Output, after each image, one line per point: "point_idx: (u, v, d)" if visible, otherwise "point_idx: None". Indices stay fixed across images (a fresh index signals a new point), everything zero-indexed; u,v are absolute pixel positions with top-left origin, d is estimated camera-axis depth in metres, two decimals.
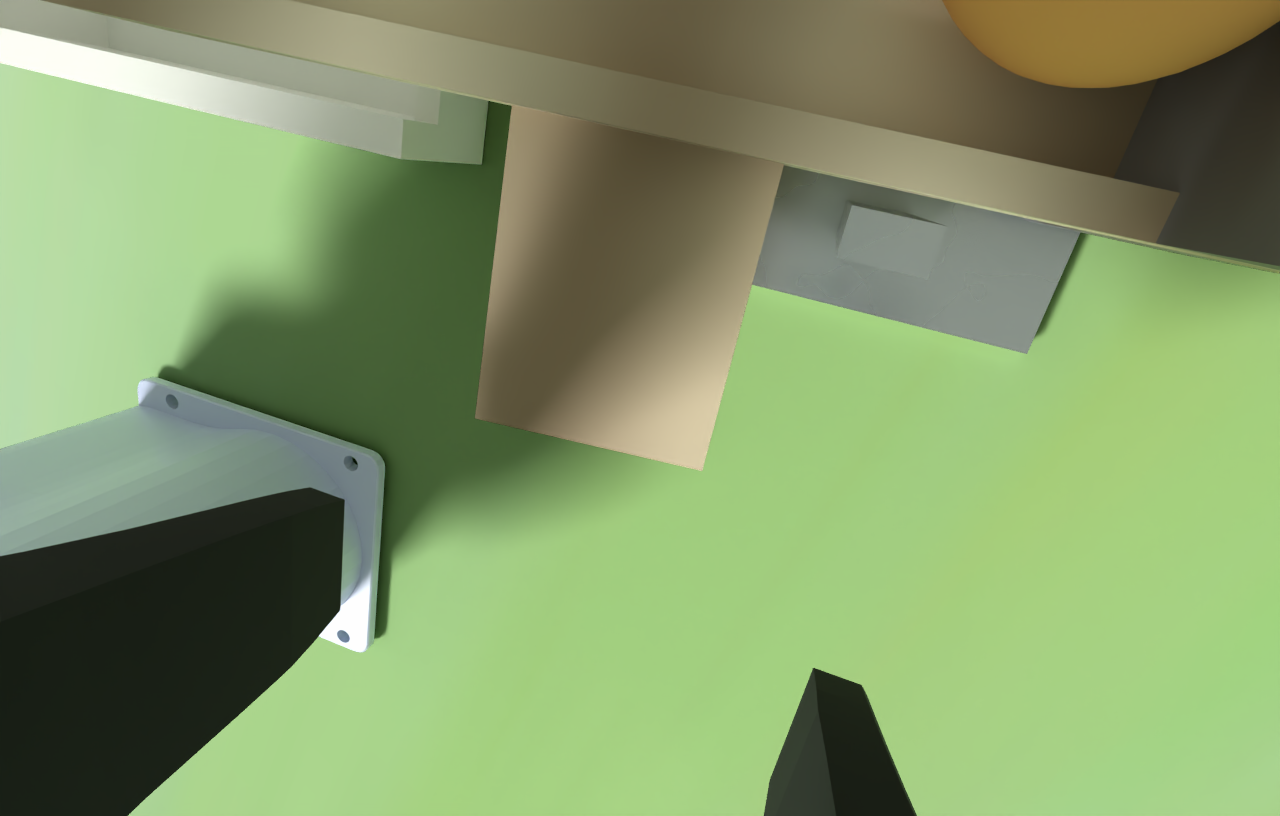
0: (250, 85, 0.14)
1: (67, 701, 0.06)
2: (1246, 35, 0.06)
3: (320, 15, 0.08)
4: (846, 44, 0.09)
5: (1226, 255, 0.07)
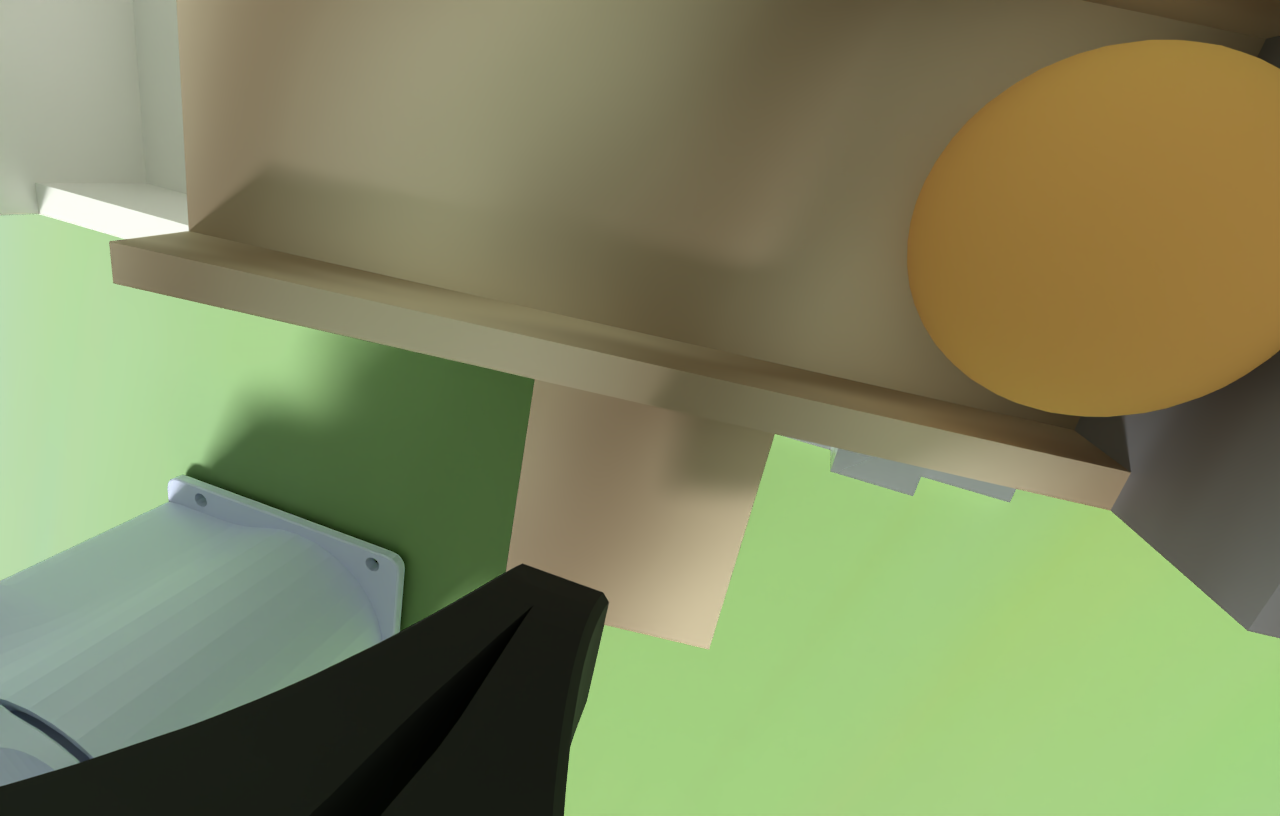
0: None
1: None
2: None
3: (373, 306, 0.09)
4: (838, 309, 0.10)
5: (1165, 557, 0.08)
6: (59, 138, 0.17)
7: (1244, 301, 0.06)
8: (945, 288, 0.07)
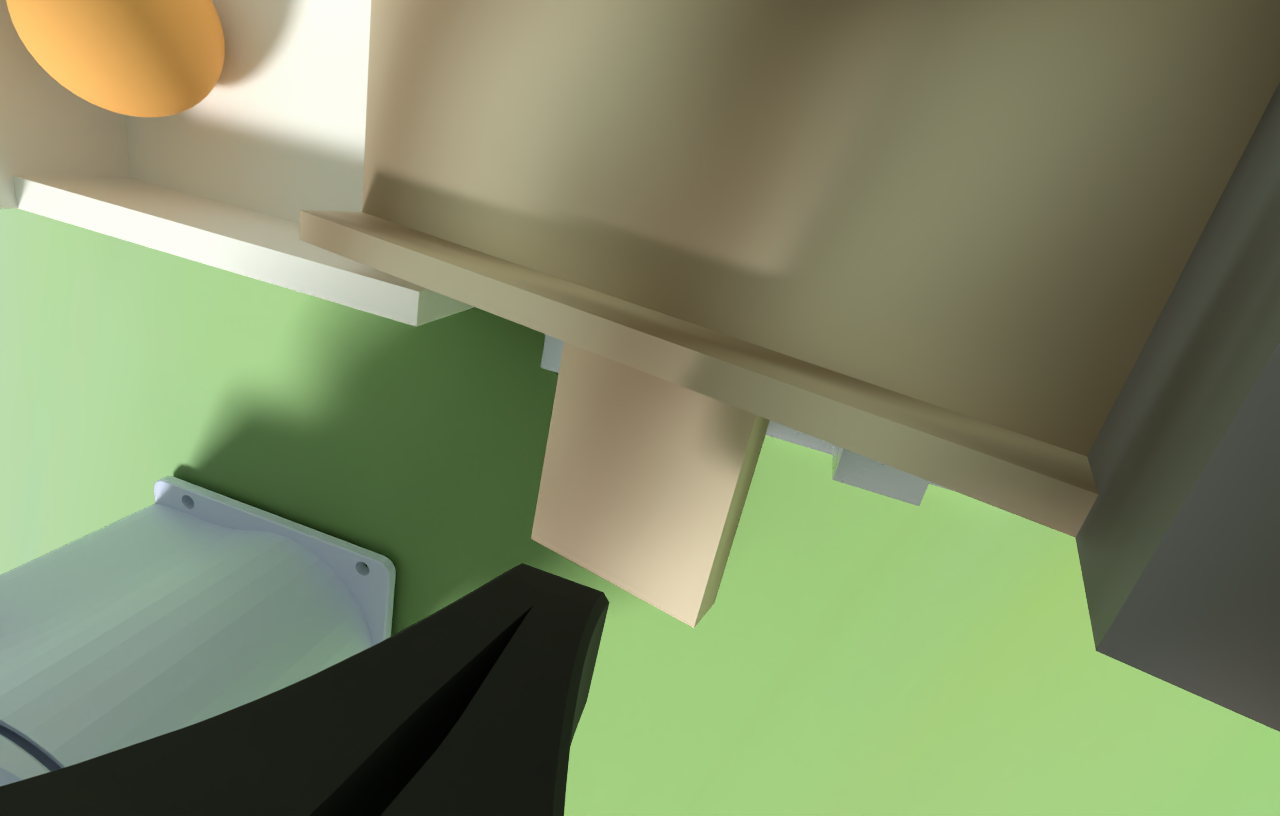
0: (271, 250, 0.15)
1: None
2: None
3: (437, 263, 0.12)
4: (822, 297, 0.10)
5: (1085, 581, 0.07)
6: (38, 130, 0.17)
7: None
8: (158, 70, 0.15)
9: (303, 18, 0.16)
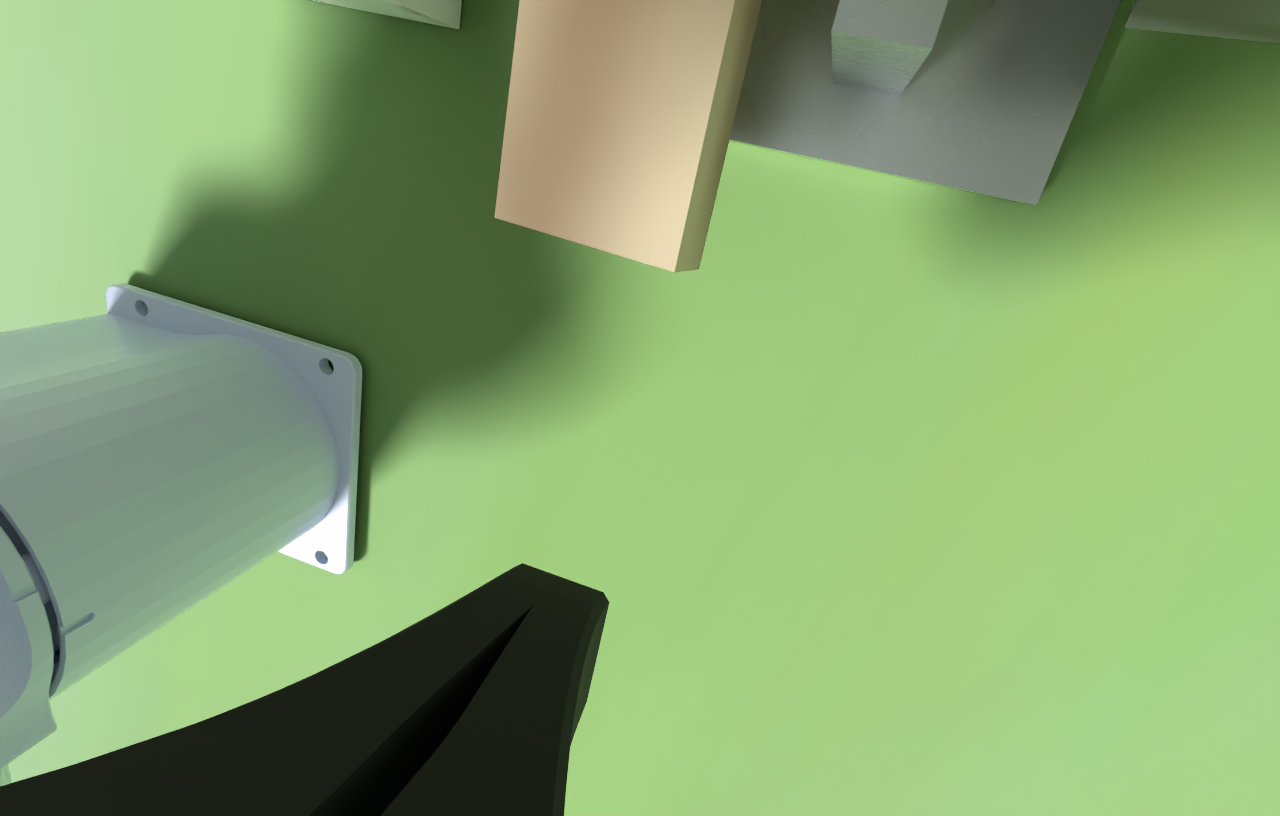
0: None
1: None
2: None
3: None
4: None
5: None
6: None
7: None
8: None
9: None
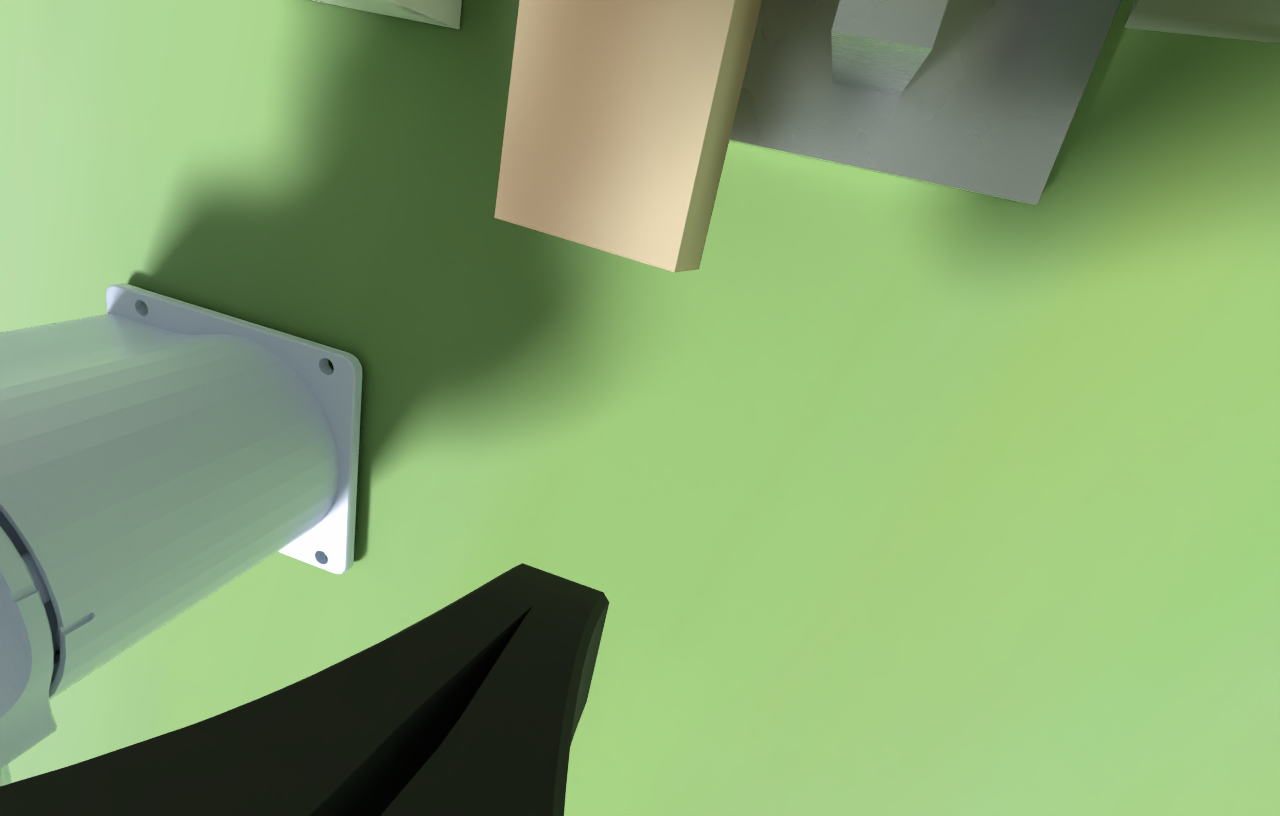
0: None
1: None
2: None
3: None
4: None
5: None
6: None
7: None
8: None
9: None
